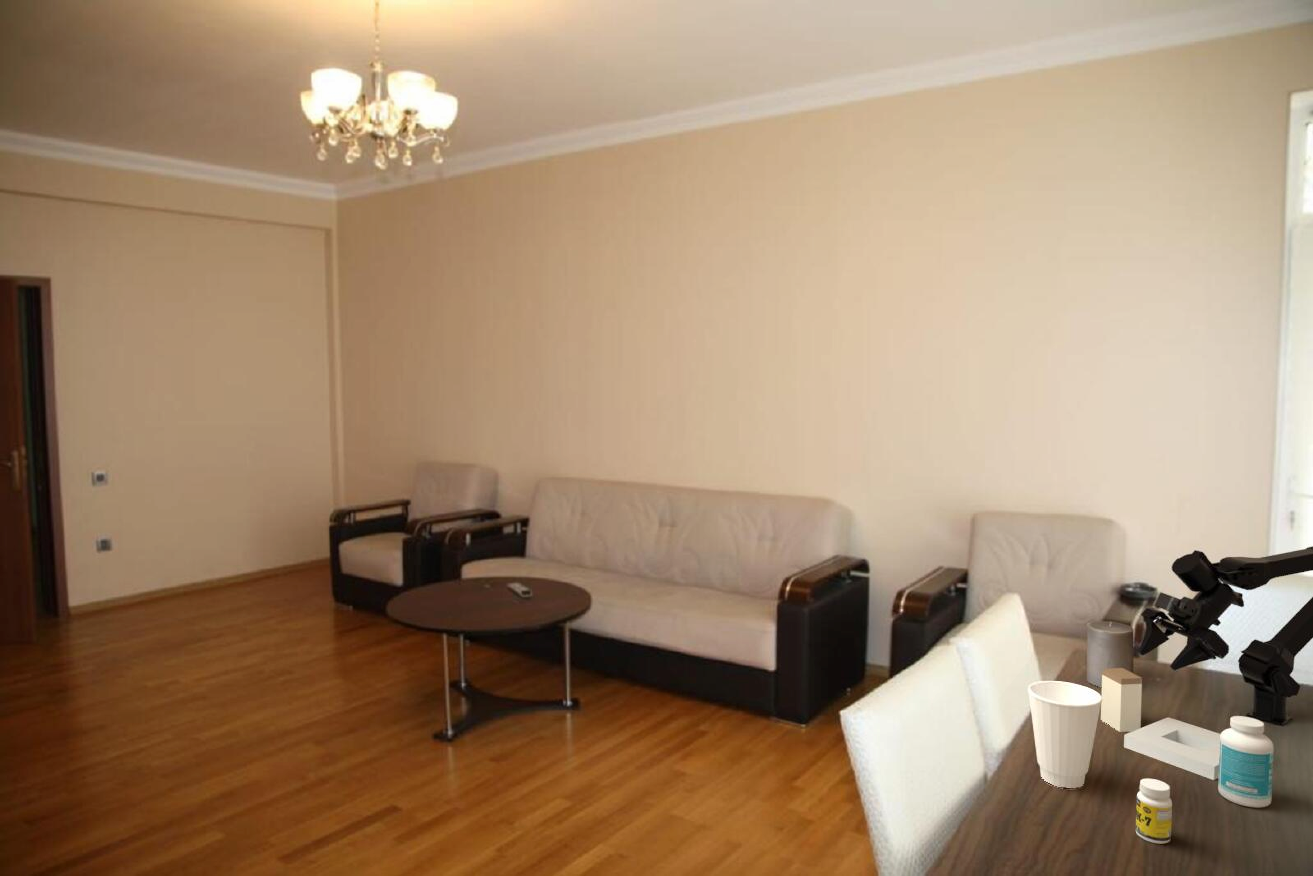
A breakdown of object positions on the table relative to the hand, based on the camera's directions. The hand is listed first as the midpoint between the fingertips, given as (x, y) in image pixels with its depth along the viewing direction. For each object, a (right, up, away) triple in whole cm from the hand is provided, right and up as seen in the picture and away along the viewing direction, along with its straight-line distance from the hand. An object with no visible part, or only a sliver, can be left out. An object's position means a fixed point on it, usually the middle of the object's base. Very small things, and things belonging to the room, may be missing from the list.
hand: (1155, 661), depth 172 cm
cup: (-31, -15, -24) cm, 42 cm away
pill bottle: (-3, -15, -31) cm, 34 cm away
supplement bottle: (-26, -16, -42) cm, 52 cm away
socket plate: (-1, -14, -13) cm, 19 cm away
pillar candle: (+3, -12, +24) cm, 27 cm away
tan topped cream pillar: (-7, -13, 0) cm, 15 cm away
